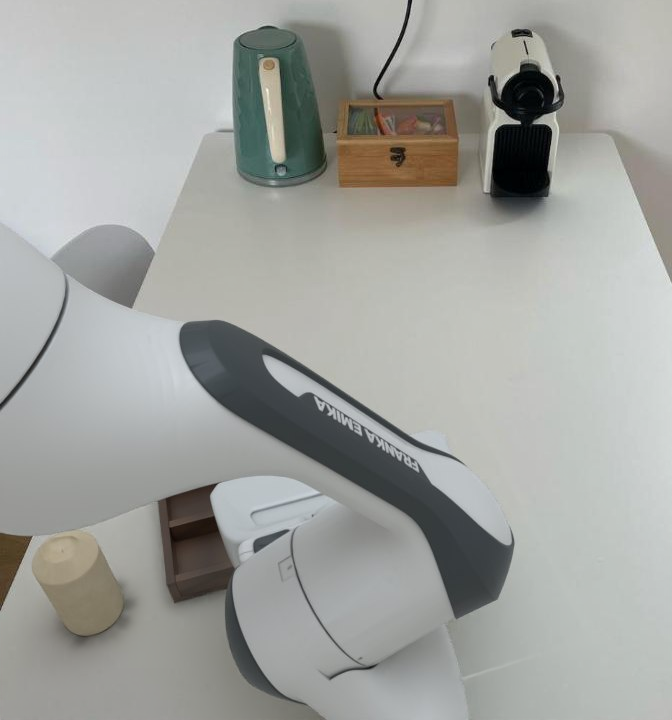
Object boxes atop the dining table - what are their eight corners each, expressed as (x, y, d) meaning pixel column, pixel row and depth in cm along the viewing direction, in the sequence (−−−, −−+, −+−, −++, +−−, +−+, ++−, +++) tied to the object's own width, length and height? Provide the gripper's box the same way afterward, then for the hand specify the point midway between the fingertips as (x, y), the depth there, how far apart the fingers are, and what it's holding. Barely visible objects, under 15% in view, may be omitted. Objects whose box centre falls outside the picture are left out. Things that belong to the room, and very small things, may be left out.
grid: (174, 602, 75) (166, 584, 73) (162, 493, 85) (154, 474, 83) (378, 546, 79) (376, 527, 77) (344, 447, 89) (342, 428, 86)
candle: (122, 575, 78) (91, 512, 71) (126, 625, 74) (94, 563, 67) (63, 593, 76) (25, 530, 70) (64, 644, 72) (24, 583, 66)
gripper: (484, 493, 62) (428, 376, 72) (218, 566, 58) (197, 432, 68) (482, 541, 66) (429, 424, 76) (234, 613, 62) (211, 480, 72)
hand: (317, 428), depth 72 cm, fingers closed on rook chess piece, 3 cm apart
